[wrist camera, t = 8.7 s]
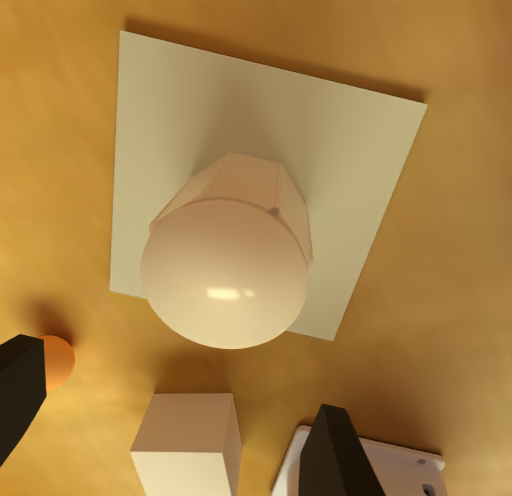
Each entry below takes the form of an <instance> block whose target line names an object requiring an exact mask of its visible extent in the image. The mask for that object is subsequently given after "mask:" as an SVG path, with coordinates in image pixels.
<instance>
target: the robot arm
mask: <svg viewBox="0 0 512 496" xmlns="http://www.w3.org/2000/svg"><path fill="white" fill-rule="evenodd" d="M46 396H47V394H46V373H45V353H44V339H39V338H35V337H31V336H26V335H22V334H19V335H17V336H16V337H14V338H12V339H10V340H8V341H7V342H5V343H3V344H1V345H0V467H1V466H2V464H3V463H4V461H5V460H6V459H7V457H8V456H9V455H10V453H11V452H12V451H13V449H14V448H15V447H16V445H17V444H18V442H19V441H20V440H21V438H22V437H23V435H24V434H25V432H26V430H27V429H28V427H29V426H30V424H31V422H32V421H33V419H34V417H35V416H36V414H37V412H38V410H39V409H40V407H41V405H42V403H43V402H44V400H45V398H46ZM444 466H445V462H444V459H443V457H442V456H439V455H436V454H432V453H427V452H423V451H418V450H413V449H409V448H404V447H400V446H395V445H391V444H386V443H382V442H377V441H373V440H368V439H364V438H359V437H358V435H357V433H356V431H355V428H354V426H353V424H352V422H351V419H350V417H349V415H348V413H347V411H346V410H345V409H343V408H339V407H334V406H330V405H326V404H322V405H321V407H320V409H319V412H318V414H317V416H316V418H315V421H314V423H313V425H312V427H310V426H304V425H302V426H299V427H297V429H296V431H295V433H294V436H293V438H292V441H291V443H290V446H289V448H288V451H287V453H286V456H285V458H284V461H283V463H282V466H281V468H280V471H279V473H278V476H277V479H276V481H275V484H274V486H273V489H272V491H271V495H270V496H449V495H448V492H447V490H446V487H445V484H444V481H443V479H442V476H441V473H440V472H441V471H442V469H443V468H444Z"/></svg>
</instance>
